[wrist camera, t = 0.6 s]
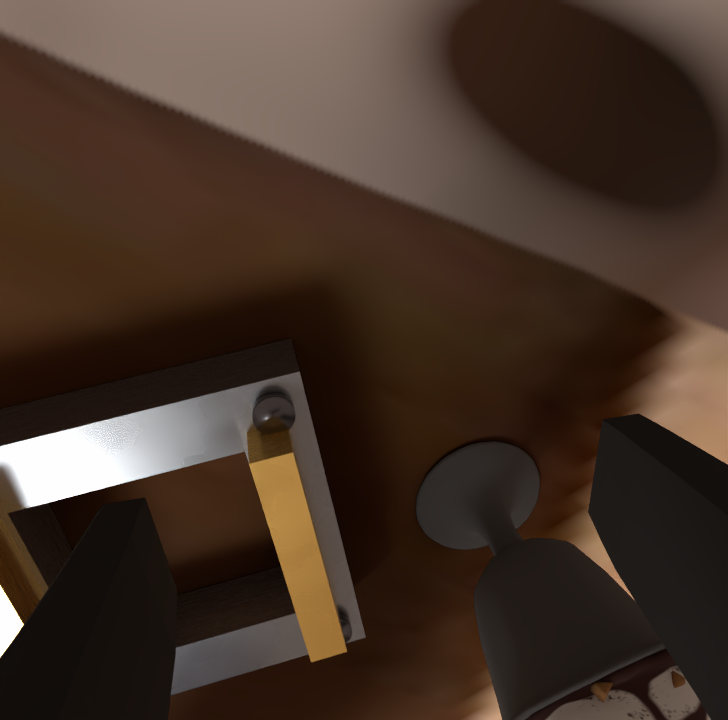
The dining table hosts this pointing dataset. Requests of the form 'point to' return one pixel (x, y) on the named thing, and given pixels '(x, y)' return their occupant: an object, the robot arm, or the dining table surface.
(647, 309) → the dining table surface
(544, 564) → the sundae
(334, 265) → the dining table surface
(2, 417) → the grey square frame
